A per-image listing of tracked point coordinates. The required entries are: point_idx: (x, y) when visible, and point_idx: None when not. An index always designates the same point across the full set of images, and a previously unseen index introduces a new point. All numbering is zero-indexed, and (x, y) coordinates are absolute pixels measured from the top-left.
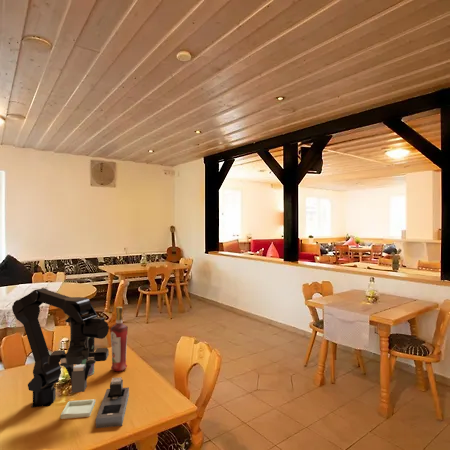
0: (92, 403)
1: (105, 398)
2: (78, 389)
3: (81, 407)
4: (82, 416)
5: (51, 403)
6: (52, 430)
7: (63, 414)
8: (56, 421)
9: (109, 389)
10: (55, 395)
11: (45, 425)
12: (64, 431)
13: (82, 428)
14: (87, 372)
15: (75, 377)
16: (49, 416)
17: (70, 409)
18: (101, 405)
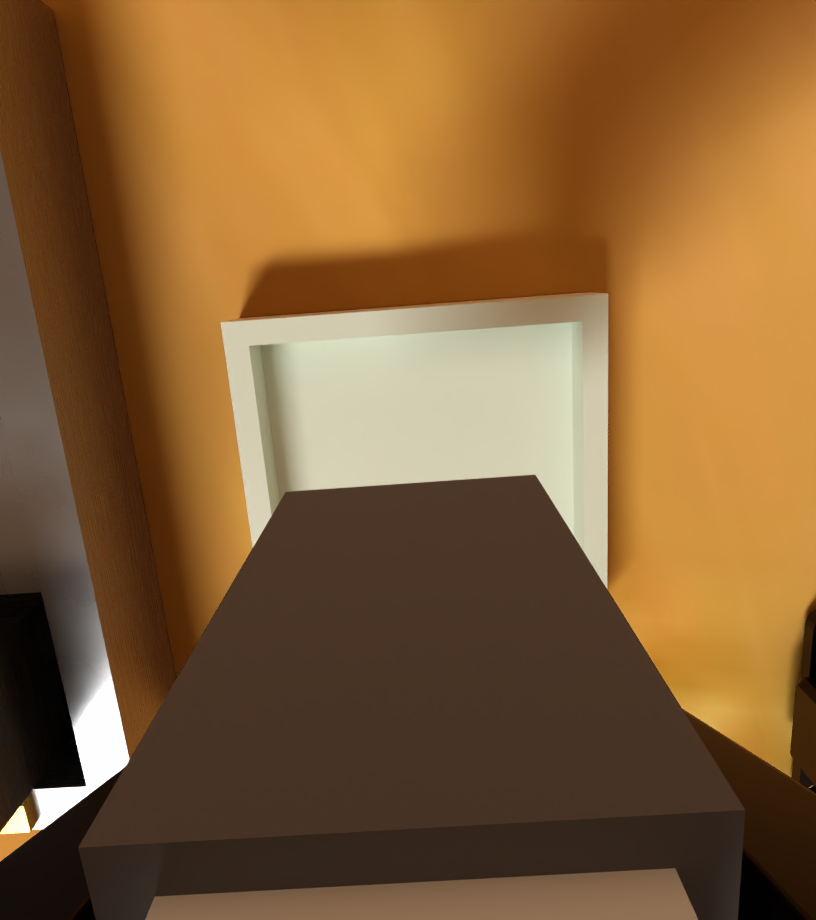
0: None
1: (58, 571)
2: (396, 502)
3: None
4: (322, 312)
5: (810, 661)
6: (621, 51)
7: (572, 309)
8: (633, 272)
9: None
10: (813, 781)
11: (746, 187)
12: (456, 9)
13: (243, 63)
14: (41, 854)
15: (497, 650)
16: (753, 400)
17: None
18: (34, 366)
